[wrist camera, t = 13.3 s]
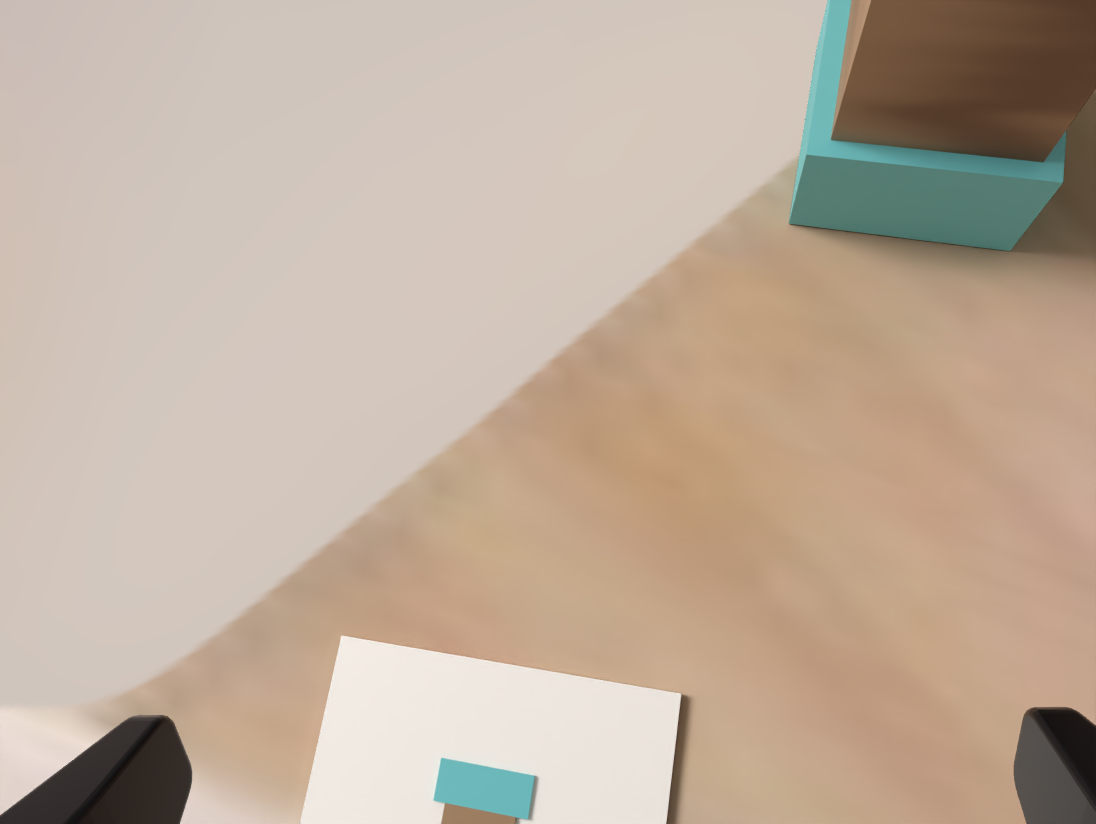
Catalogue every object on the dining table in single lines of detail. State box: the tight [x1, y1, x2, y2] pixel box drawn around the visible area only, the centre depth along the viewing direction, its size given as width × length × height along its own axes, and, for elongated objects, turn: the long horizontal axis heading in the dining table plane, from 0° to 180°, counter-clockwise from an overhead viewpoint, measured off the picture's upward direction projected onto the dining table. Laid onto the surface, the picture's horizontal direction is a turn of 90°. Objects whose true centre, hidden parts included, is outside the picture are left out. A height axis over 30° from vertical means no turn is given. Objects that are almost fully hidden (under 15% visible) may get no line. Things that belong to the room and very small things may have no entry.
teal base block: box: [789, 0, 1067, 251], centre depth 24 cm, size 6×6×4 cm
